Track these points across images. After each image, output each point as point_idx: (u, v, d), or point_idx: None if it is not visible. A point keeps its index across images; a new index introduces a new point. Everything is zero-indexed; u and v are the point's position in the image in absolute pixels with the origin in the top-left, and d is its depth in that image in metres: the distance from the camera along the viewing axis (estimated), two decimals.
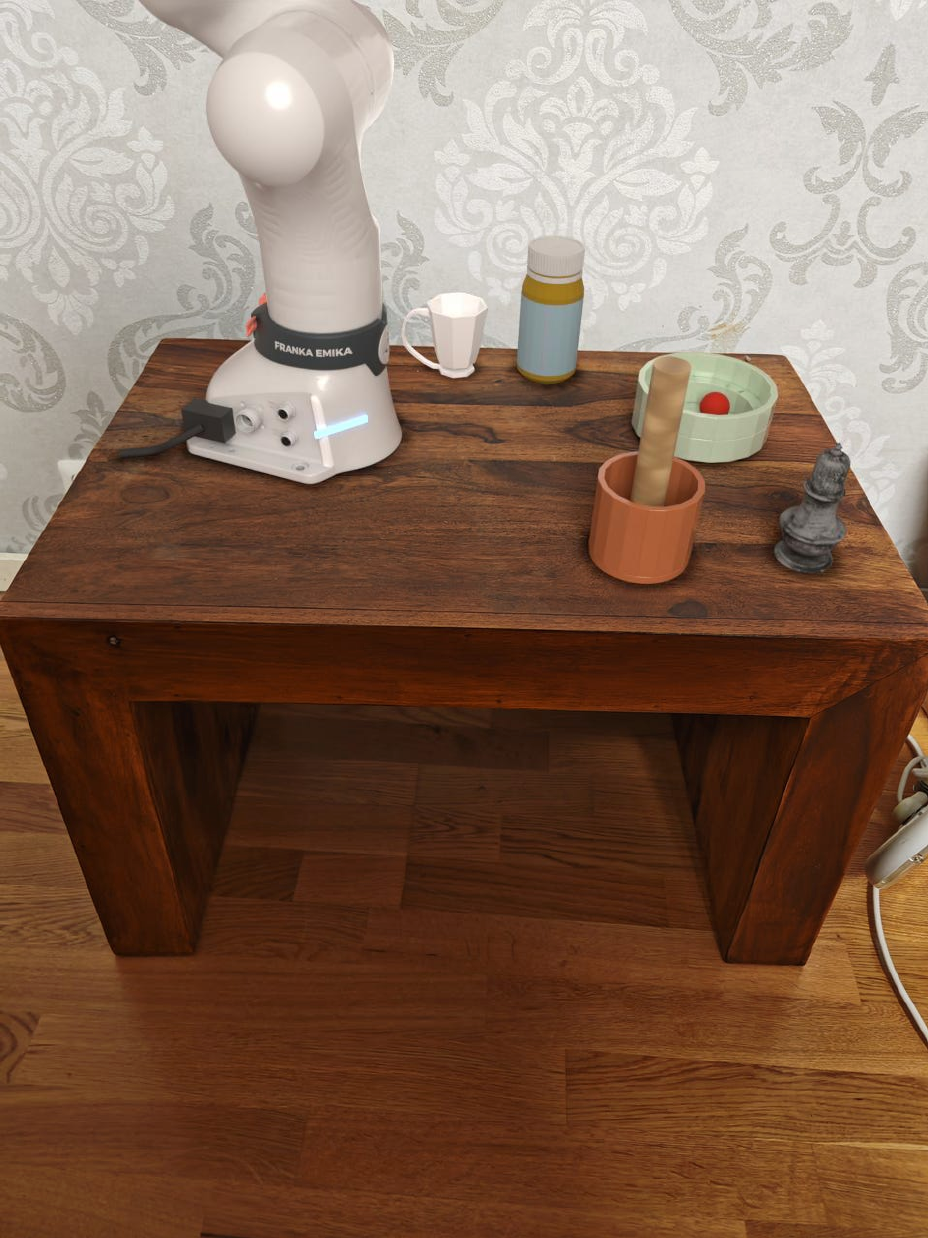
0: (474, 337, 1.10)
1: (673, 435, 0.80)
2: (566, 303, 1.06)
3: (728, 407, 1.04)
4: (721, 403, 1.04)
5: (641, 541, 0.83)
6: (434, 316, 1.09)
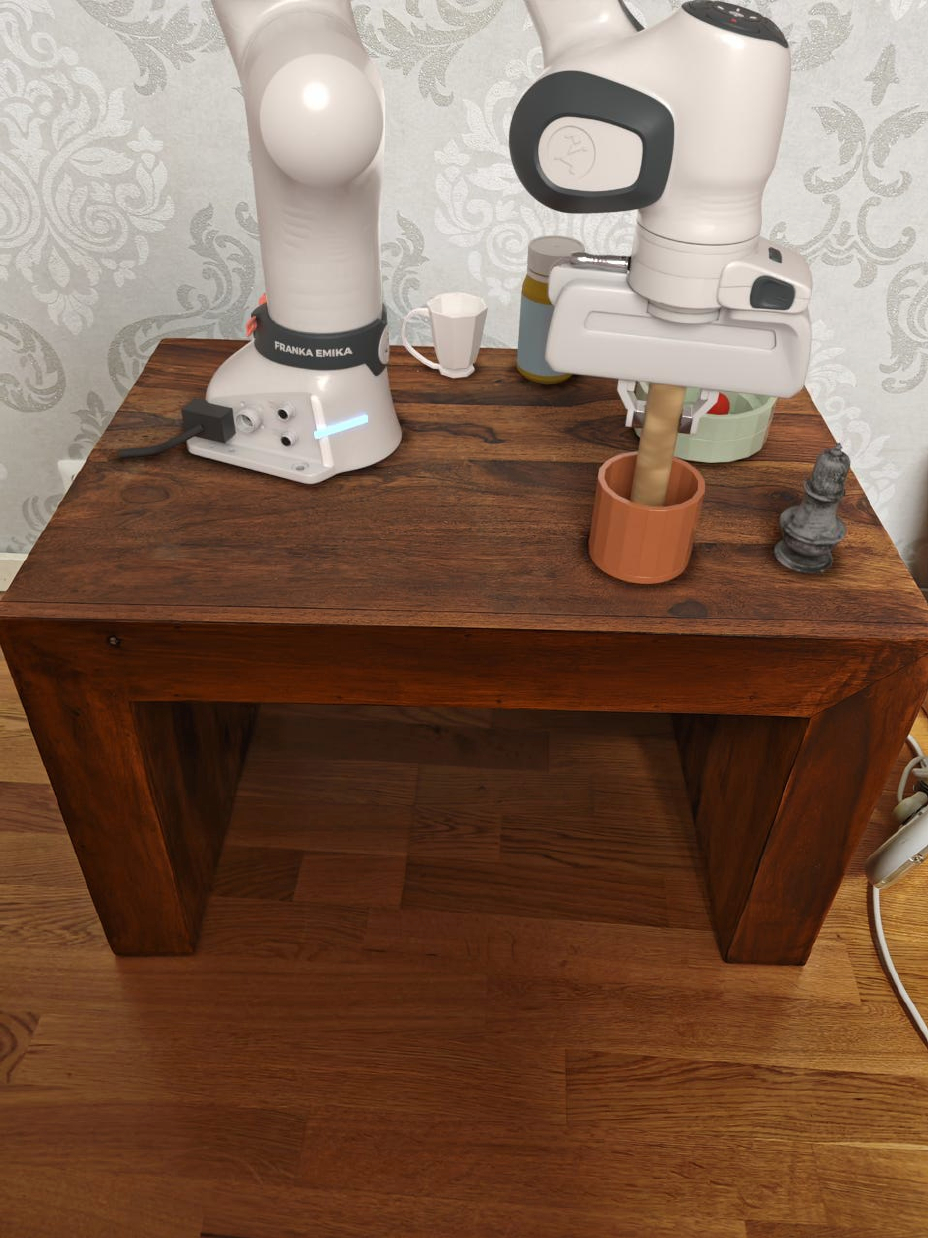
0: (474, 337, 1.10)
1: (673, 435, 0.80)
2: None
3: (728, 407, 1.04)
4: (721, 403, 1.04)
5: (641, 541, 0.83)
6: (434, 316, 1.09)
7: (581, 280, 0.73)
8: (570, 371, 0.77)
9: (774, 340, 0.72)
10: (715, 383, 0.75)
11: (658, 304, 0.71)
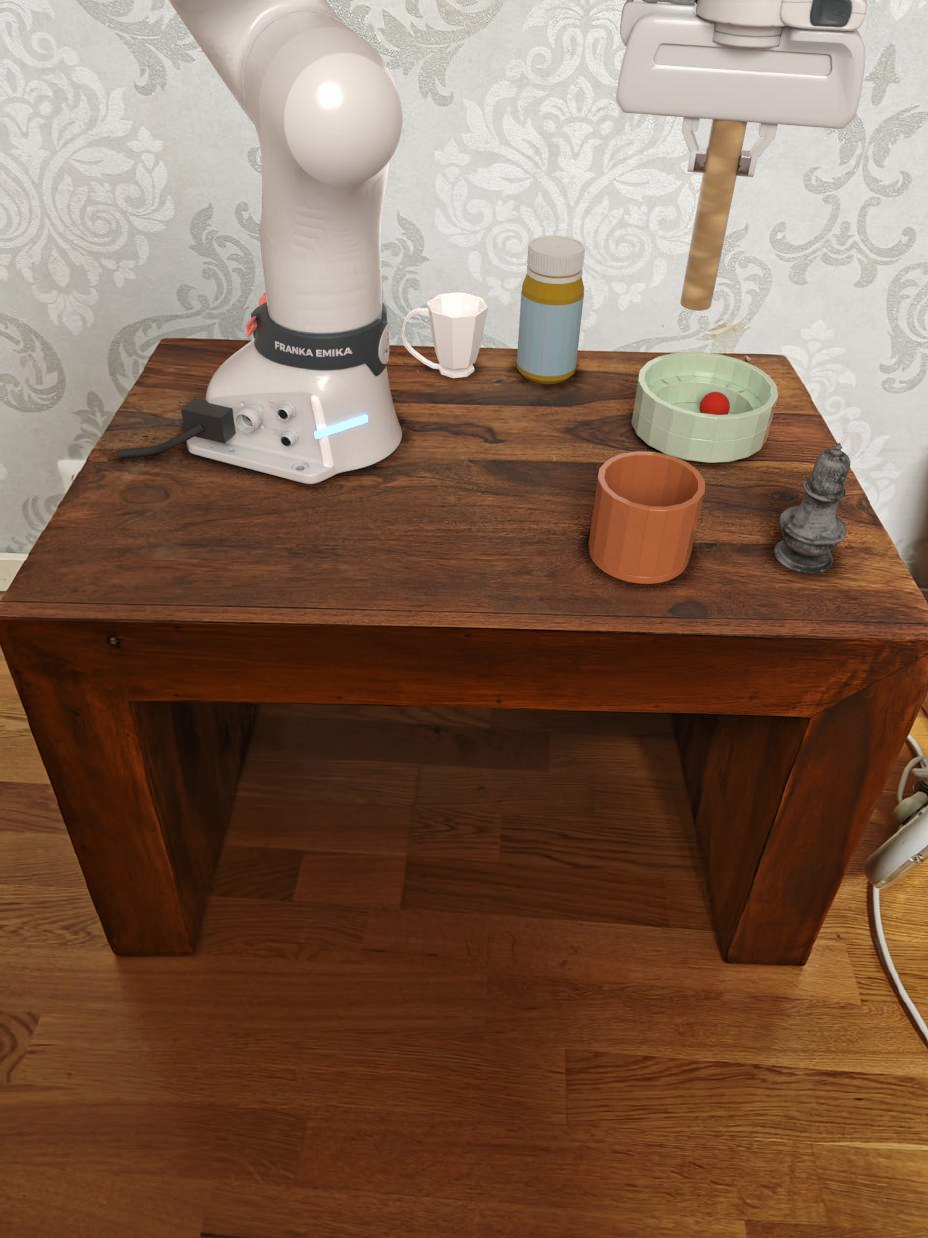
0: (474, 337, 1.10)
1: (732, 177, 0.86)
2: (566, 303, 1.06)
3: (728, 407, 1.04)
4: (721, 403, 1.04)
5: (641, 541, 0.83)
6: (434, 316, 1.09)
7: (652, 13, 0.80)
8: (639, 110, 0.84)
9: (830, 66, 0.79)
10: (774, 115, 0.82)
11: (724, 29, 0.78)
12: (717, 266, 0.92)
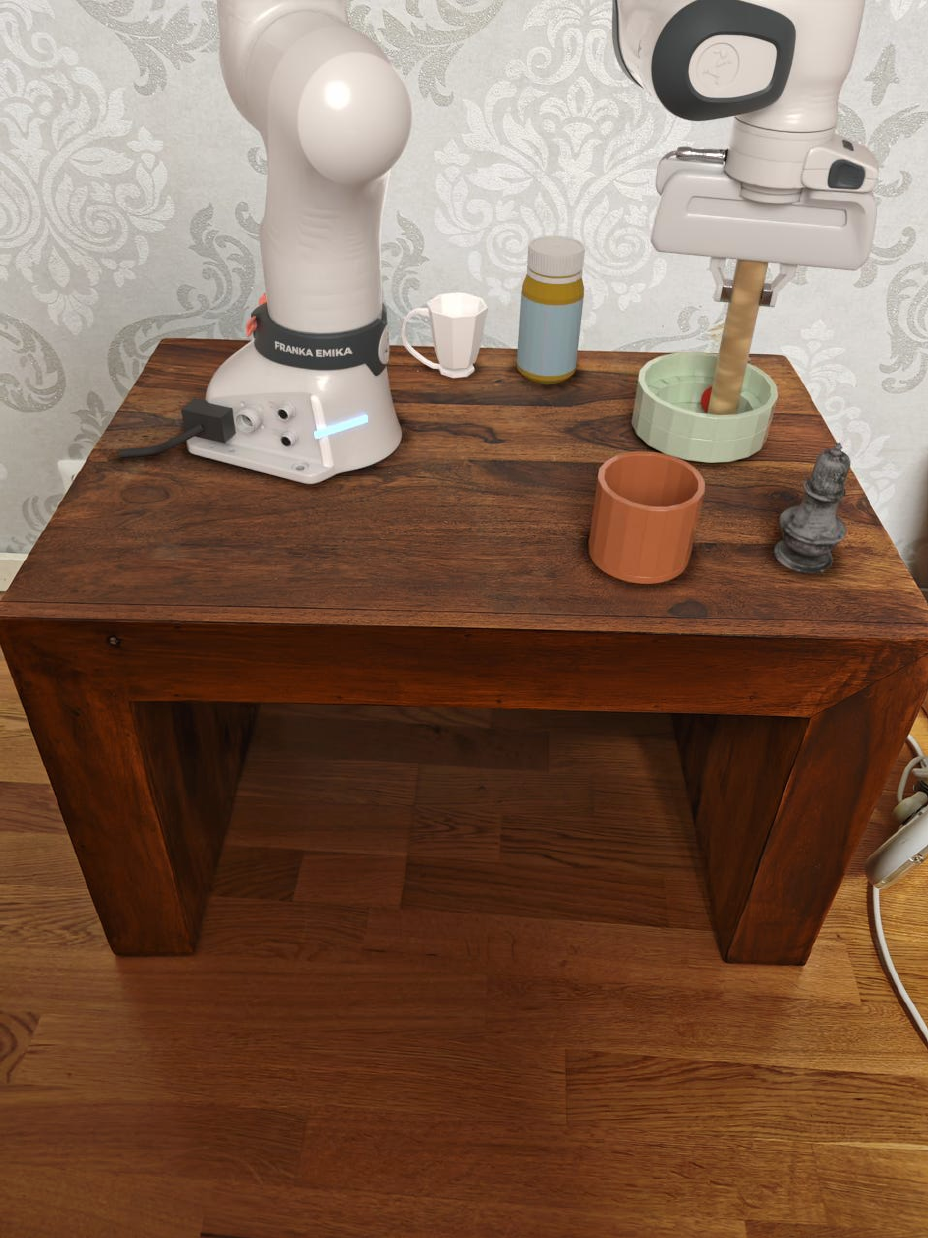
0: (474, 337, 1.10)
1: (755, 307, 0.95)
2: (566, 303, 1.06)
3: None
4: None
5: (641, 541, 0.83)
6: (434, 316, 1.09)
7: (685, 170, 0.89)
8: (672, 250, 0.93)
9: (845, 218, 0.88)
10: (794, 258, 0.91)
11: (750, 187, 0.87)
12: (742, 382, 1.01)
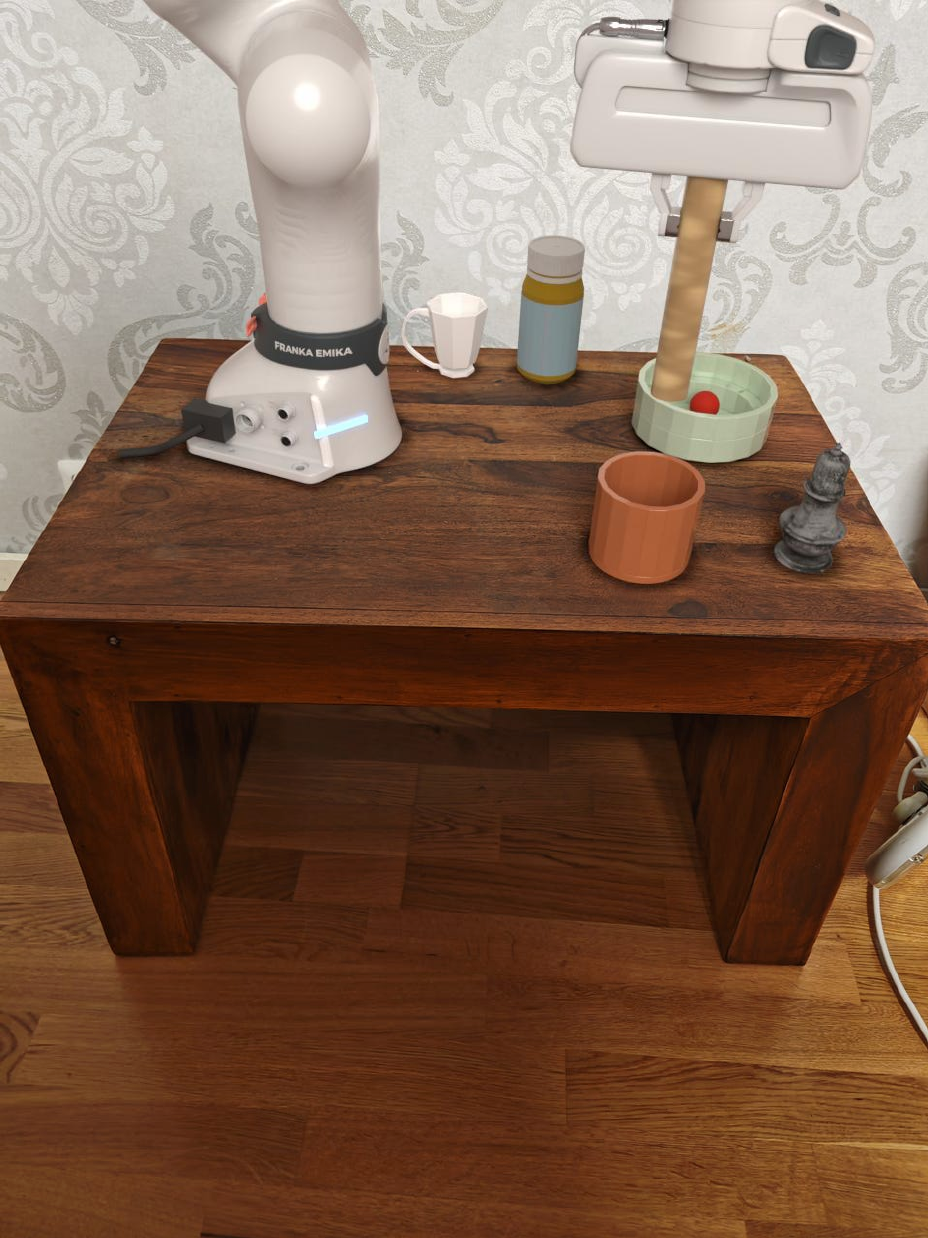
0: (474, 337, 1.10)
1: (712, 243, 0.72)
2: (566, 303, 1.06)
3: (714, 410, 1.04)
4: (705, 406, 1.04)
5: (641, 541, 0.83)
6: (434, 316, 1.09)
7: (612, 49, 0.65)
8: (598, 164, 0.69)
9: (829, 115, 0.65)
10: (760, 172, 0.67)
11: (699, 71, 0.63)
12: (694, 349, 0.77)
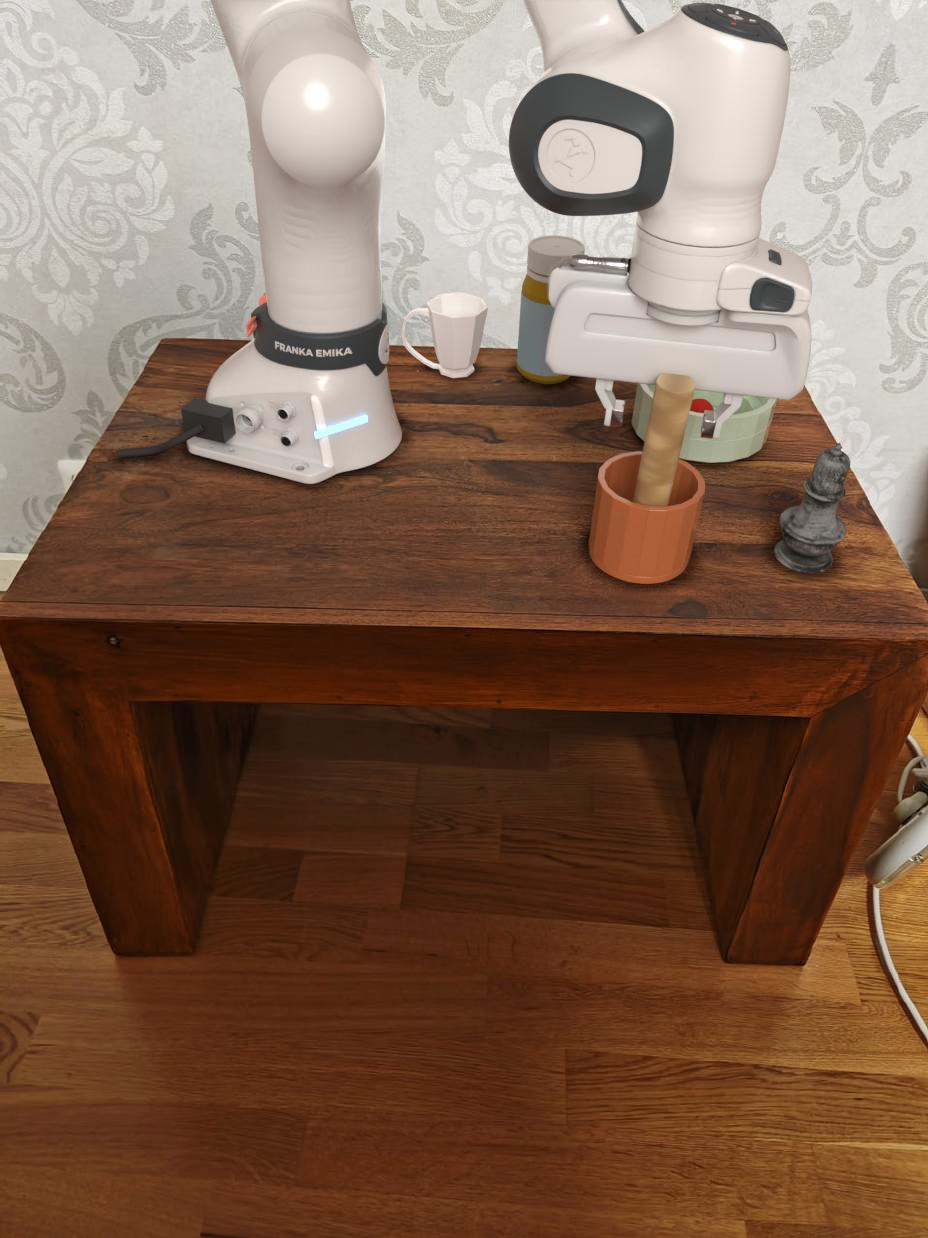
0: (474, 337, 1.10)
1: (676, 451, 0.78)
2: None
3: None
4: None
5: (641, 541, 0.83)
6: (434, 316, 1.09)
7: (581, 282, 0.73)
8: (570, 373, 0.77)
9: (774, 342, 0.72)
10: (715, 385, 0.75)
11: (658, 306, 0.71)
12: None
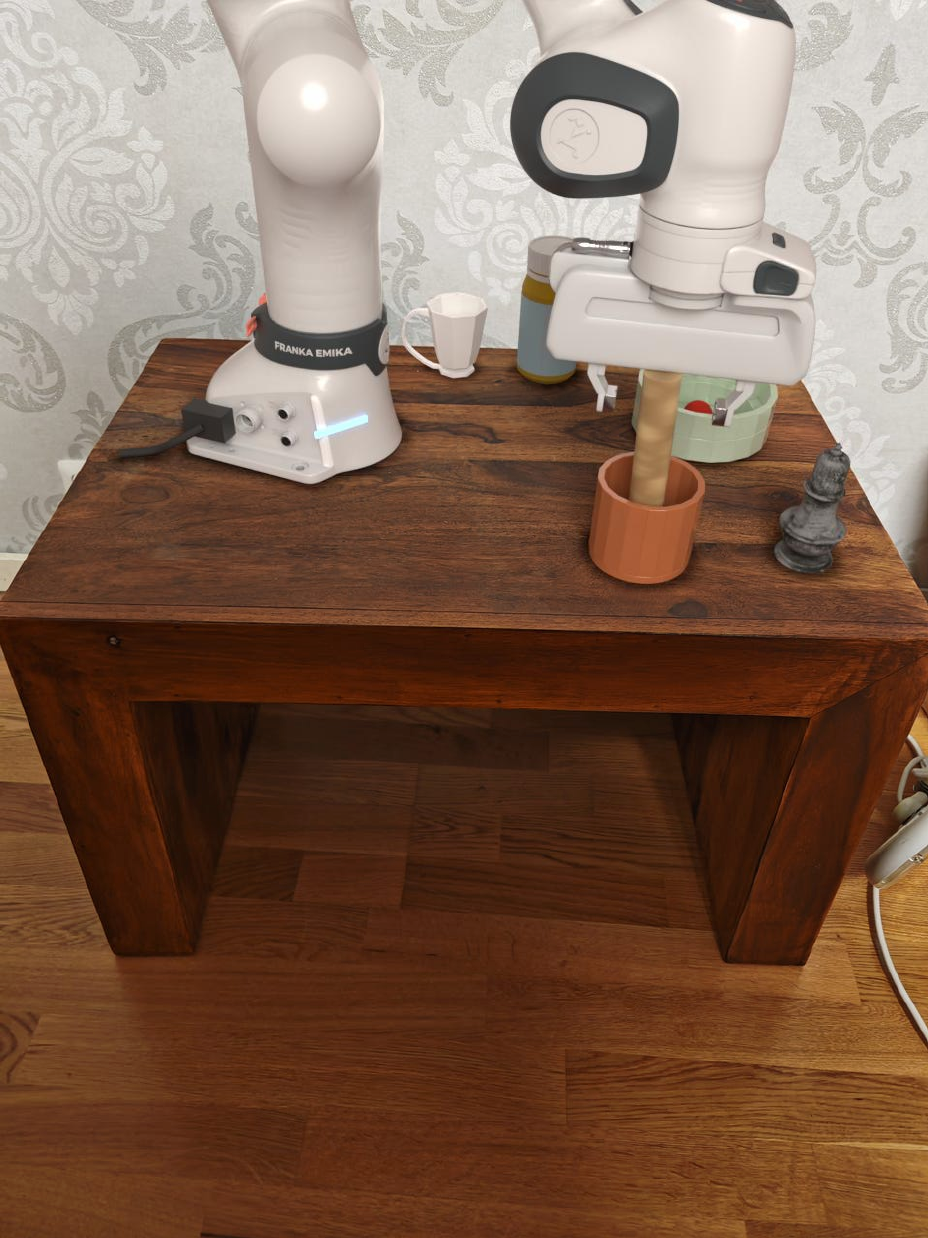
0: (474, 337, 1.10)
1: (668, 443, 0.78)
2: None
3: None
4: None
5: (641, 541, 0.83)
6: (434, 316, 1.09)
7: (583, 265, 0.72)
8: (571, 358, 0.76)
9: (777, 327, 0.72)
10: (717, 370, 0.75)
11: (660, 290, 0.71)
12: None
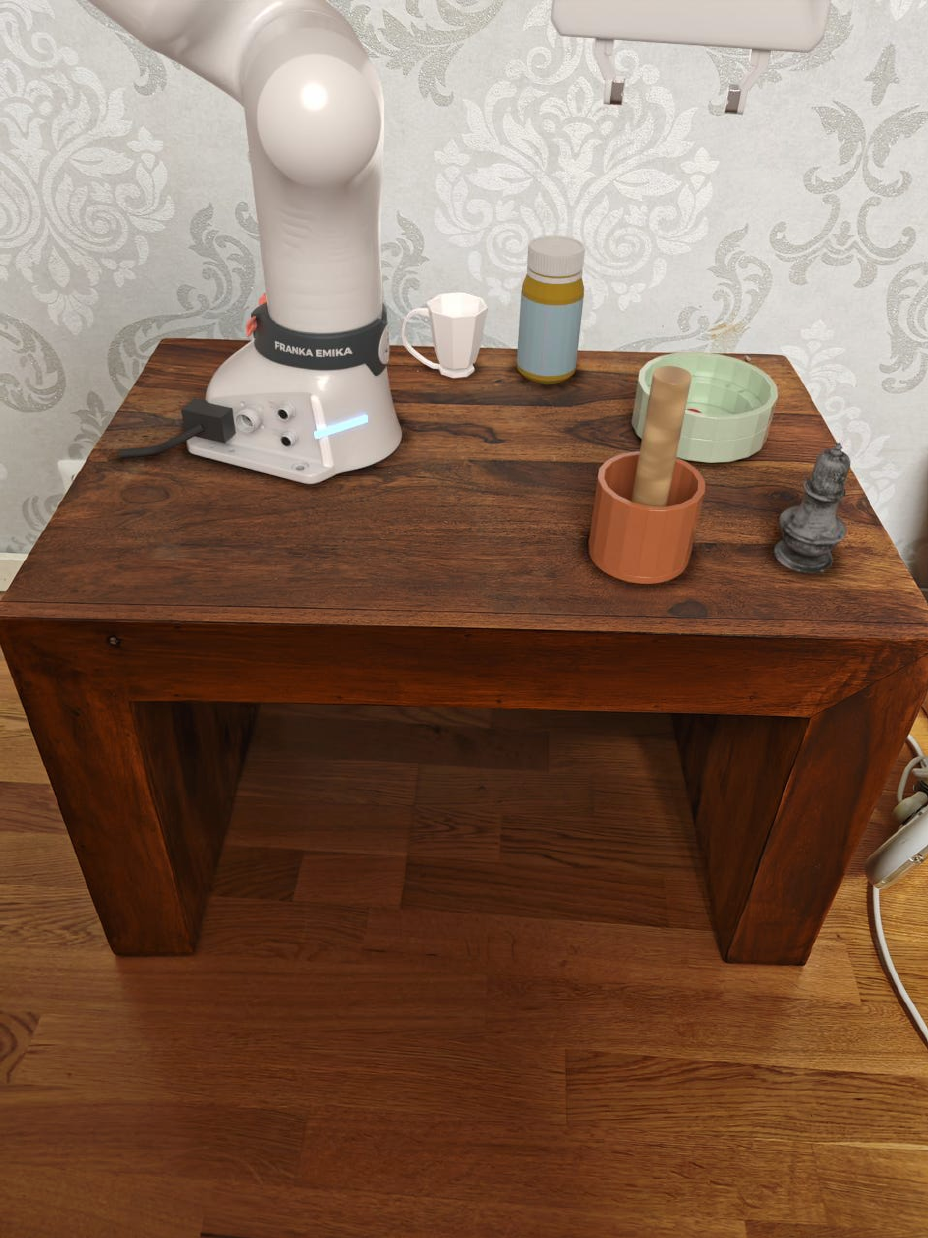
0: (474, 337, 1.10)
1: (674, 445, 0.78)
2: (566, 303, 1.06)
3: None
4: None
5: (641, 541, 0.83)
6: (434, 316, 1.09)
7: None
8: (577, 32, 0.73)
9: None
10: (731, 36, 0.71)
11: None
12: None
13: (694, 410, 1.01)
